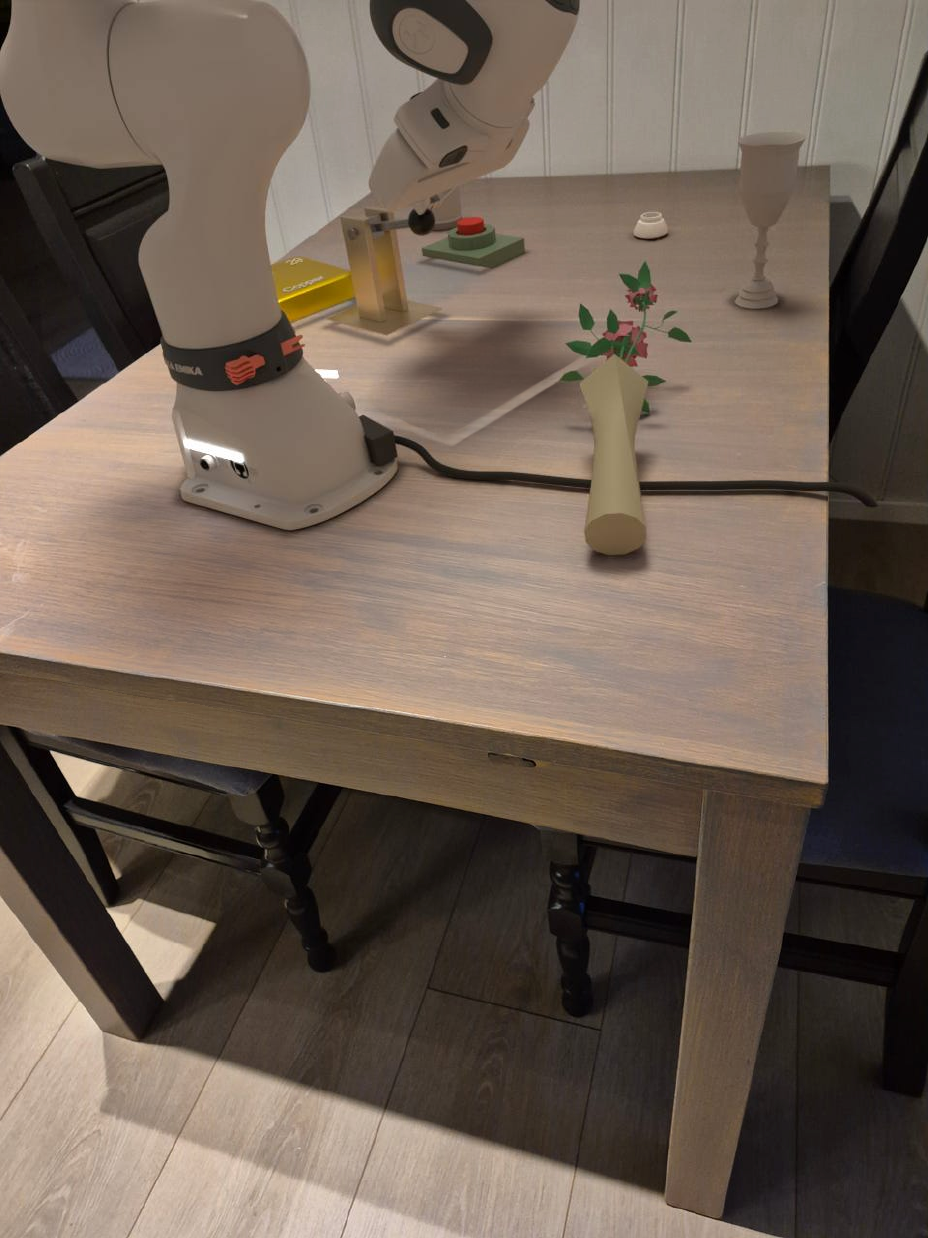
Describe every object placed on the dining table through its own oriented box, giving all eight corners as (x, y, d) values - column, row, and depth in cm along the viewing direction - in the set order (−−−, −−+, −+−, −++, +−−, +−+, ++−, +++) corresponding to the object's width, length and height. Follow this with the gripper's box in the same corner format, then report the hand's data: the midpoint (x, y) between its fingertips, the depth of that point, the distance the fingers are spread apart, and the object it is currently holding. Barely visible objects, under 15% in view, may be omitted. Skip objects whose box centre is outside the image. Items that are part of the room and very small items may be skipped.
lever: (443, 229, 104) (436, 200, 103) (424, 238, 103) (417, 208, 101) (375, 238, 113) (367, 211, 112) (356, 245, 112) (348, 218, 110)
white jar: (649, 242, 131) (674, 233, 133) (650, 221, 129) (675, 212, 131) (626, 236, 135) (651, 228, 136) (626, 216, 133) (651, 207, 135)
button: (490, 230, 133) (489, 218, 132) (472, 238, 131) (470, 226, 130) (470, 227, 135) (469, 215, 134) (452, 235, 133) (451, 223, 132)
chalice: (797, 296, 109) (817, 132, 98) (770, 315, 105) (787, 147, 94) (743, 287, 113) (756, 130, 102) (715, 305, 110) (725, 144, 98)
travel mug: (470, 219, 151) (456, 85, 139) (449, 231, 147) (433, 94, 135) (440, 218, 154) (424, 86, 142) (419, 229, 150) (400, 95, 138)
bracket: (443, 316, 117) (428, 205, 109) (388, 343, 112) (368, 229, 103) (382, 302, 124) (364, 197, 116) (328, 327, 119) (305, 218, 110)
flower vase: (578, 613, 78) (584, 367, 99) (719, 584, 73) (693, 332, 94) (527, 526, 70) (545, 278, 91) (682, 486, 65) (662, 234, 86)
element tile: (273, 337, 118) (264, 301, 115) (219, 315, 128) (209, 281, 125) (362, 302, 125) (356, 267, 122) (305, 283, 135) (298, 250, 132)
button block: (525, 252, 134) (523, 224, 132) (480, 273, 129) (477, 245, 127) (467, 243, 141) (465, 216, 139) (423, 262, 136) (419, 235, 134)
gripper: (523, 66, 96) (469, 160, 108) (385, 111, 85) (342, 209, 97) (558, 114, 96) (500, 202, 108) (424, 164, 86) (376, 256, 97)
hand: (424, 206), depth 102 cm, fingers closed, pressing on lever
